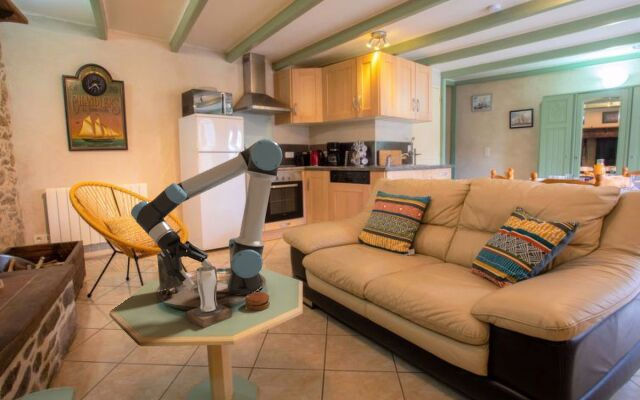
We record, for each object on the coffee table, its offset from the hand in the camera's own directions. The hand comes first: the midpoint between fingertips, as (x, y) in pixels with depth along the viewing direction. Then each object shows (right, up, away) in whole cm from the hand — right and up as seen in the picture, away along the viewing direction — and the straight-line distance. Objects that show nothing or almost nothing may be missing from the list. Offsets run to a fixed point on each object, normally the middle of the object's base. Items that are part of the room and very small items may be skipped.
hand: (204, 280), depth 127 cm
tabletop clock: (-23, -12, +27) cm, 37 cm away
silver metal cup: (+1, -11, +2) cm, 11 cm away
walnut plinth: (+1, -14, +2) cm, 14 cm away
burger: (+17, -13, +11) cm, 24 cm away
